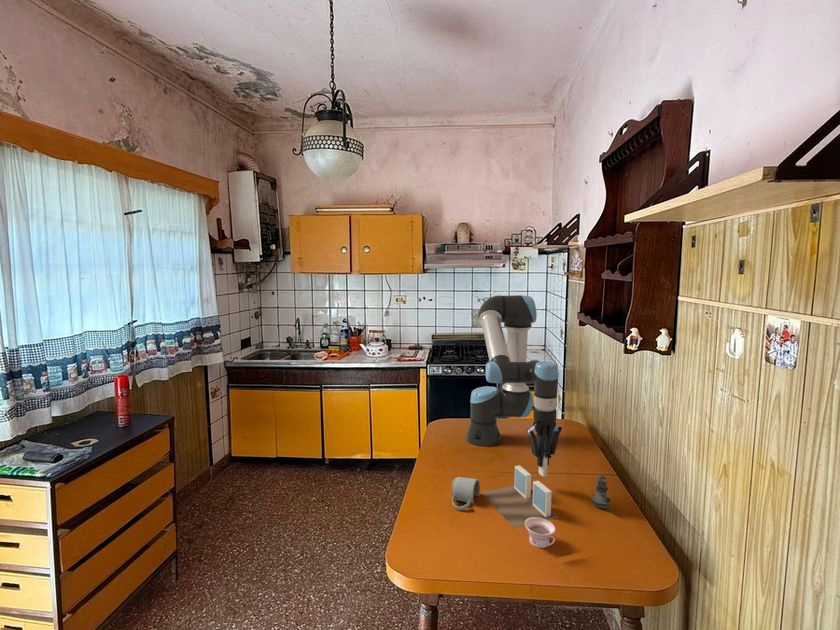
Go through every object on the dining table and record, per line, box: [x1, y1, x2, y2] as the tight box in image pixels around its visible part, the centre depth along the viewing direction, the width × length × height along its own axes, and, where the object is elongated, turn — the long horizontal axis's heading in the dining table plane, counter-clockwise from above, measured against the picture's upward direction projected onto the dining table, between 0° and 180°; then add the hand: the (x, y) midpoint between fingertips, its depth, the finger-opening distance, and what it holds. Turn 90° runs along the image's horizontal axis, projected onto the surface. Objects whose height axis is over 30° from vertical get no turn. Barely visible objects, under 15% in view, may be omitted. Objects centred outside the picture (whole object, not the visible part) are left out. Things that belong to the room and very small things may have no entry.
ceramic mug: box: [450, 476, 481, 511], centre depth 141 cm, size 11×8×8 cm
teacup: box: [524, 517, 557, 560], centre depth 120 cm, size 12×12×6 cm
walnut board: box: [480, 485, 560, 529], centre depth 139 cm, size 21×16×1 cm
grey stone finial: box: [591, 473, 612, 512], centre depth 137 cm, size 6×6×12 cm
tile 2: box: [532, 480, 552, 517], centre depth 135 cm, size 7×2×8 cm, turn 19°
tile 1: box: [513, 464, 532, 498], centre depth 145 cm, size 7×2×8 cm, turn 19°
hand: (542, 474), depth 147 cm, fingers closed
